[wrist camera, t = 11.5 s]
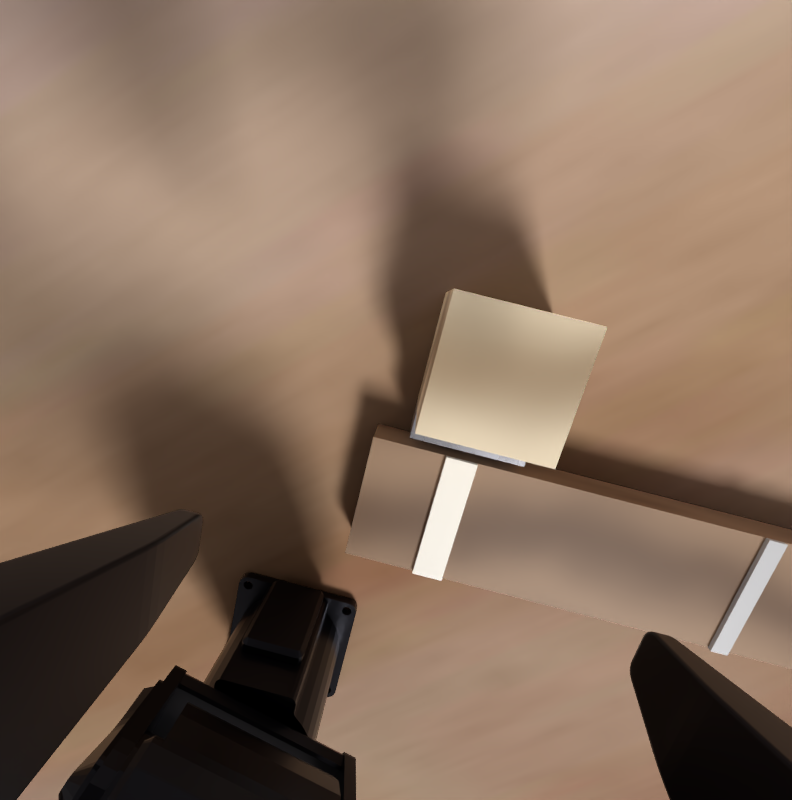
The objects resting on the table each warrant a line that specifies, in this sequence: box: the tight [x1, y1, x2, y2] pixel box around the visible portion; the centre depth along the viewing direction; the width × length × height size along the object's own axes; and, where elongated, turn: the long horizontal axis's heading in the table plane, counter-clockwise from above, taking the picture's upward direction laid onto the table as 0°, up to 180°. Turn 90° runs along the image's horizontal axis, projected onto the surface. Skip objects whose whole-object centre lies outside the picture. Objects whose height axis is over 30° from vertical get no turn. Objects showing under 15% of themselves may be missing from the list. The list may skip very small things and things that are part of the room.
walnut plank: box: [345, 424, 792, 669], centre depth 19 cm, size 6×28×2 cm, turn 76°
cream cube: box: [410, 289, 607, 469], centre depth 16 cm, size 6×5×6 cm
